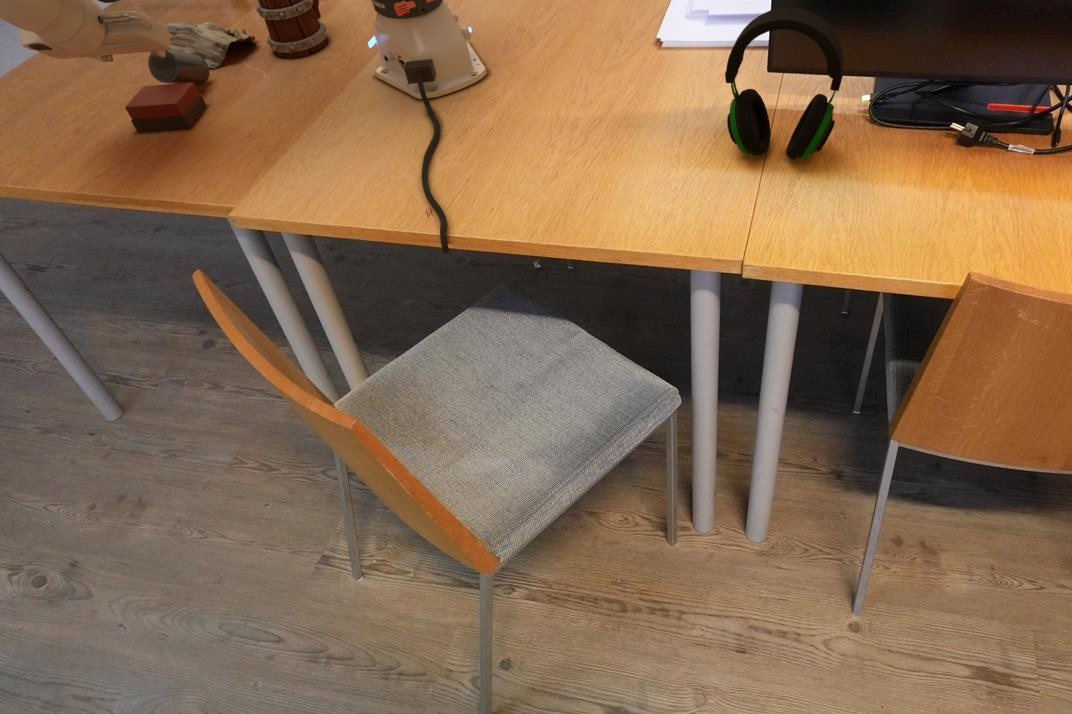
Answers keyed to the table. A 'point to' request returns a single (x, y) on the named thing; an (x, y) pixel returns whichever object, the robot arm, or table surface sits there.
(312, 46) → the mug
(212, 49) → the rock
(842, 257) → the table surface
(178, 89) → the notebooks
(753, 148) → the headphones
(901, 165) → the table surface
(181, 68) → the cup
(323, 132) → the table surface
